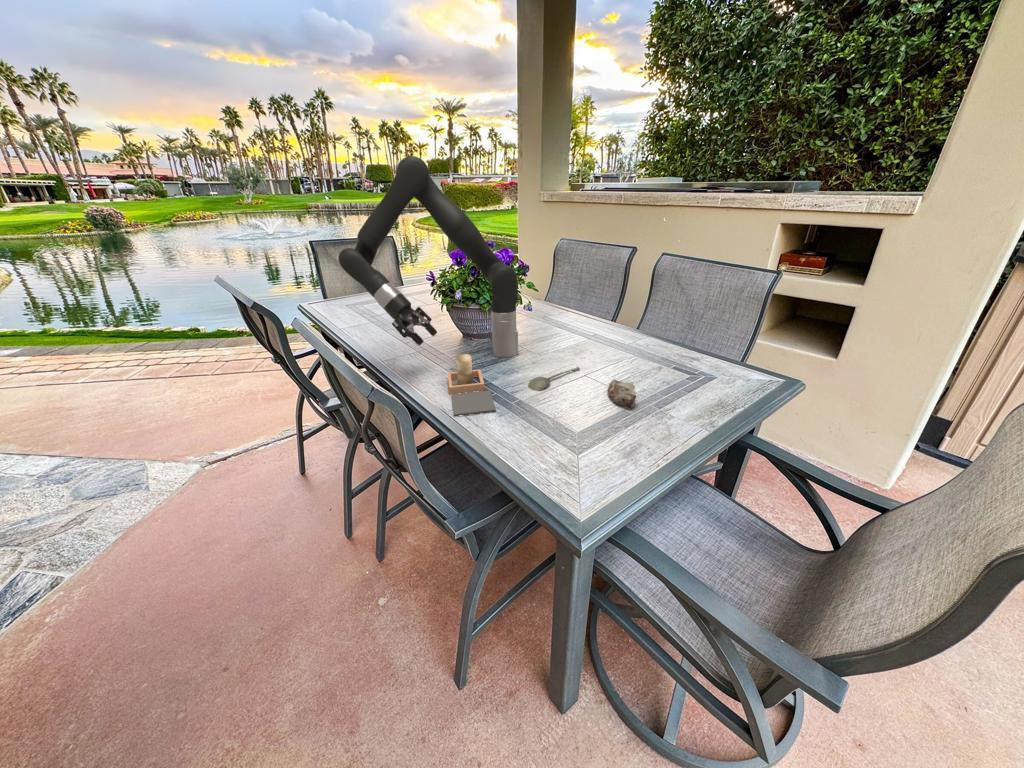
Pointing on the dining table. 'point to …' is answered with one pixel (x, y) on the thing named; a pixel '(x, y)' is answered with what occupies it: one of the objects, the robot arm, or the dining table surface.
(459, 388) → the terracotta collar
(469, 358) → the maple post
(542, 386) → the soupspoon
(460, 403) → the charcoal mat
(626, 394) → the mineral rock
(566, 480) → the dining table surface
